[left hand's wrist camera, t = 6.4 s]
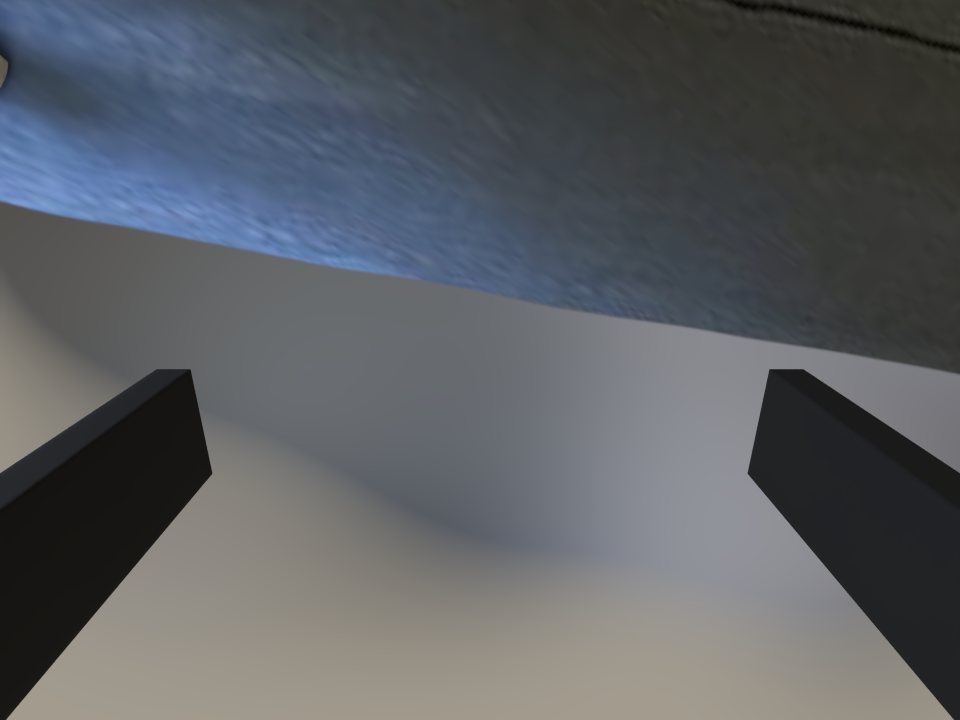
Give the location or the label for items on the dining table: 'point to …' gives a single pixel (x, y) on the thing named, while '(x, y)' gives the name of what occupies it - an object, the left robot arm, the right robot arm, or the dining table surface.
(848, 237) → the dining table surface
